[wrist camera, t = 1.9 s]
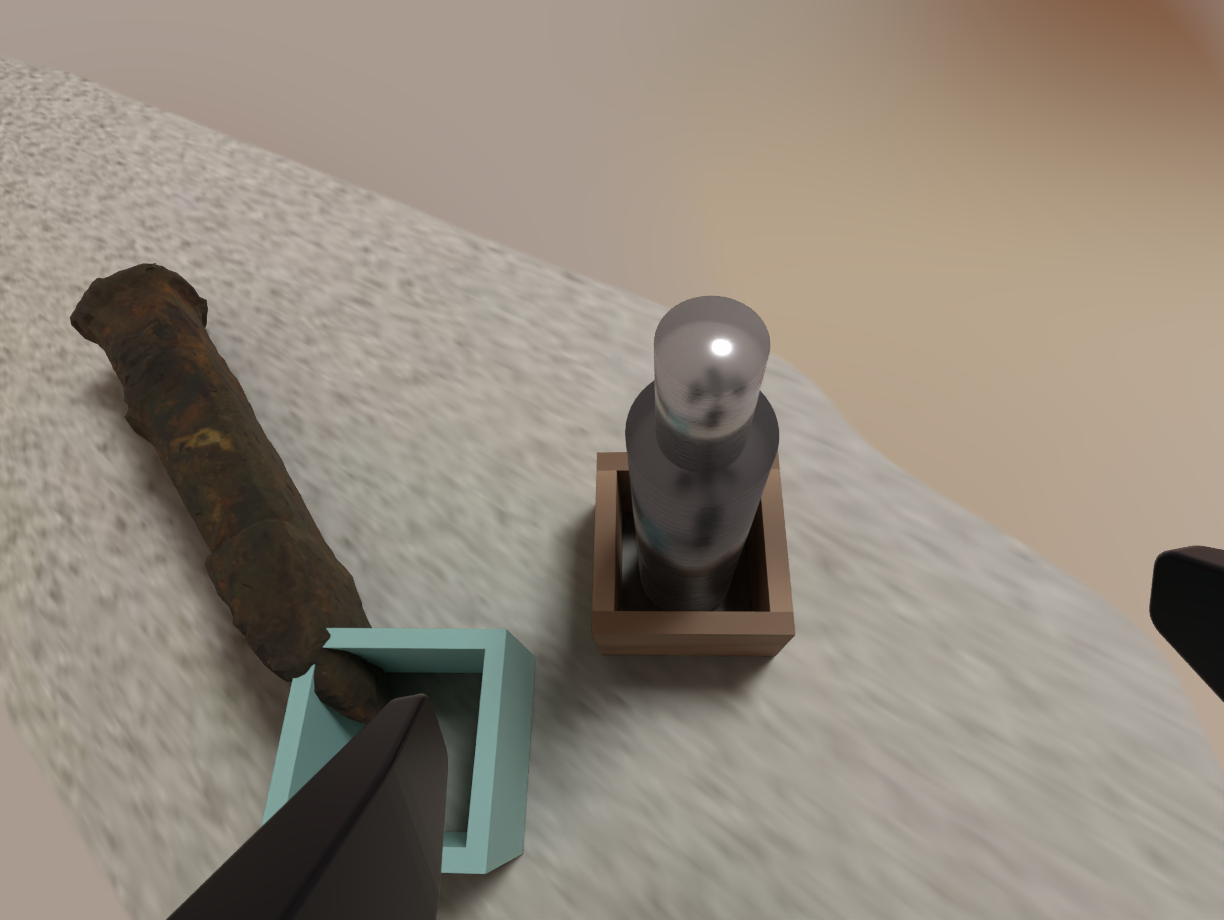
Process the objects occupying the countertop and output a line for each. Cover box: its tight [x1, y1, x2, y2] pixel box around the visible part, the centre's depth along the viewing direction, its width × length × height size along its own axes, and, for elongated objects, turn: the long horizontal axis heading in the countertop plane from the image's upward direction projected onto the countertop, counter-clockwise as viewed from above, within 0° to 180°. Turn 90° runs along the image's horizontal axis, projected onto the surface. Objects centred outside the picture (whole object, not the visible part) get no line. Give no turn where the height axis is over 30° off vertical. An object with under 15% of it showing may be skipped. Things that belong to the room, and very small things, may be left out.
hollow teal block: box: [261, 628, 536, 874], centre depth 18 cm, size 5×5×4 cm
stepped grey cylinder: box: [625, 296, 779, 611], centre depth 16 cm, size 3×3×13 cm
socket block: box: [591, 451, 795, 656], centre depth 21 cm, size 5×5×4 cm
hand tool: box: [70, 263, 390, 724], centre depth 22 cm, size 19×4×5 cm, turn 35°
